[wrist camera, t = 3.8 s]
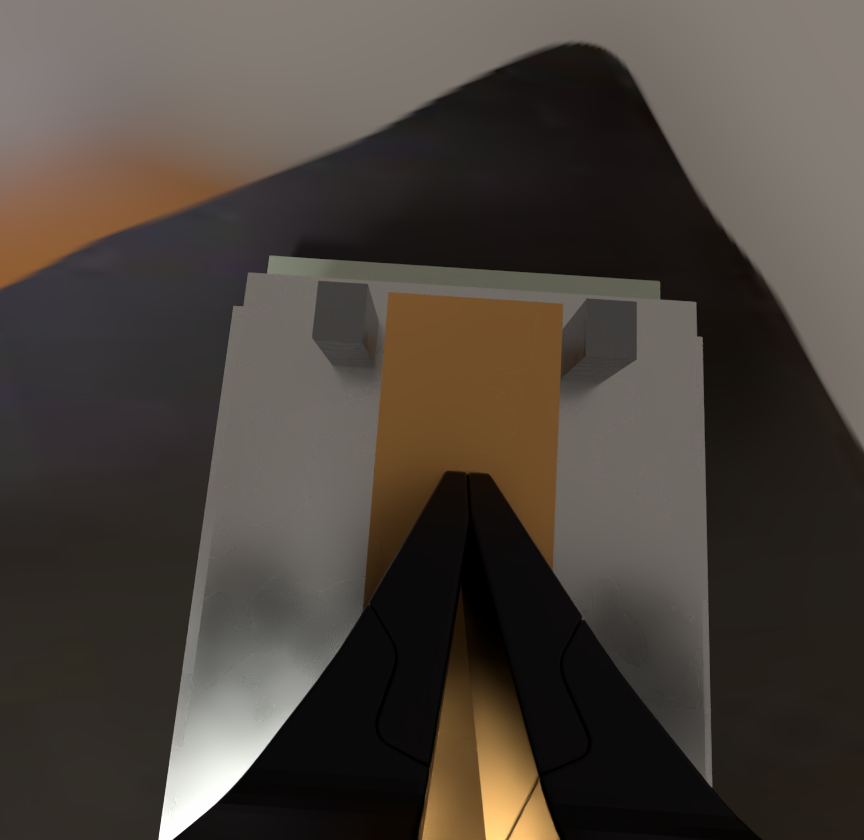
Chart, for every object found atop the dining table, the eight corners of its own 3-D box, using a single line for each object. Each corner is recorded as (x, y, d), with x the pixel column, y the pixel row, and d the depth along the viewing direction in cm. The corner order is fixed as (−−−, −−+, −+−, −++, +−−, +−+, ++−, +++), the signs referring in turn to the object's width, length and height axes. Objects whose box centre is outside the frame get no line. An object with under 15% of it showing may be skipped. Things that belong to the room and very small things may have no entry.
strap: (520, 1054, 9) (533, 1140, 8) (334, 1040, 9) (319, 1124, 8) (552, 318, 11) (567, 299, 10) (392, 307, 11) (387, 287, 10)
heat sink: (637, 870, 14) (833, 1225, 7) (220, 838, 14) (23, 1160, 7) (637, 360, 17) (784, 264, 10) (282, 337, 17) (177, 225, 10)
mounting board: (642, 885, 15) (664, 926, 14) (210, 853, 16) (187, 890, 14) (641, 298, 19) (660, 280, 17) (282, 274, 19) (269, 255, 17)
